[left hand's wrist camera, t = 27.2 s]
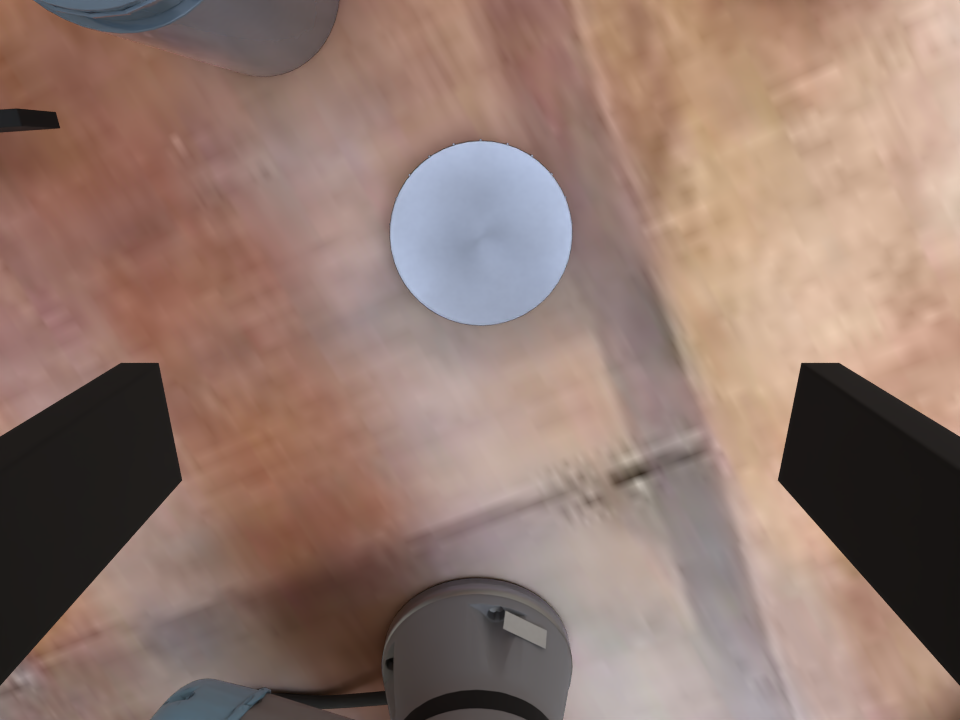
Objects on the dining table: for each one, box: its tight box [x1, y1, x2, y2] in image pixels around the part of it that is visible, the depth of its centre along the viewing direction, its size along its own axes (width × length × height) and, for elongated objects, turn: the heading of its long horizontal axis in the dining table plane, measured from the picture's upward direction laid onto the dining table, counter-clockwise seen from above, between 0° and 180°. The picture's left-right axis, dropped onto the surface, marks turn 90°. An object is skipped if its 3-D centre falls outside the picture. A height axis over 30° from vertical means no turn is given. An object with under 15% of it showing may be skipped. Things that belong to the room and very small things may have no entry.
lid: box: [390, 139, 572, 326], centre depth 36 cm, size 11×11×2 cm
